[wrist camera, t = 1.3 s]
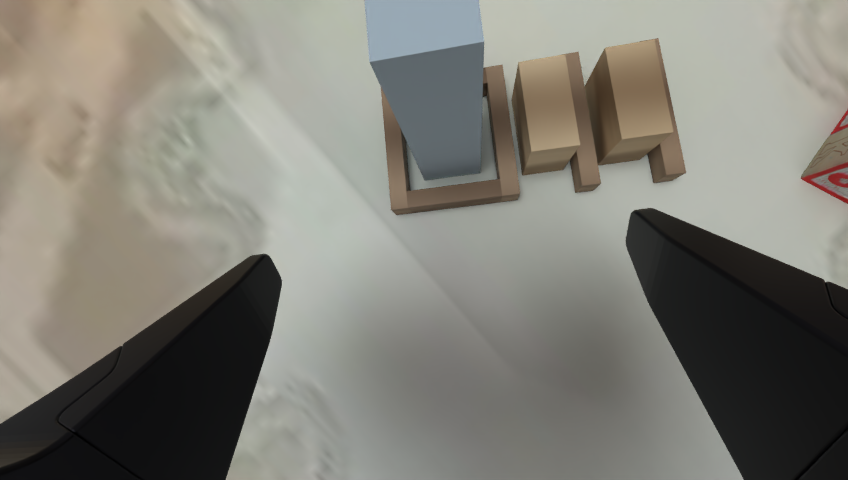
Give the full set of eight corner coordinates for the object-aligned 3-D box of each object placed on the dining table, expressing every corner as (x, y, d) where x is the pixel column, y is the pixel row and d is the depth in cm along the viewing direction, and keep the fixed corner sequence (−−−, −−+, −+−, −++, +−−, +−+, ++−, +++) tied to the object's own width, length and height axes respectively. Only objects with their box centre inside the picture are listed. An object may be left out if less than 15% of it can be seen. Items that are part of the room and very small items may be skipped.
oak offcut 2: (638, 160, 22) (673, 131, 18) (596, 166, 23) (622, 139, 19) (624, 82, 23) (654, 39, 19) (583, 88, 23) (605, 47, 19)
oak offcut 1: (562, 170, 23) (580, 145, 19) (522, 175, 23) (531, 151, 19) (550, 94, 24) (565, 54, 20) (511, 100, 24) (518, 62, 20)
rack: (671, 180, 22) (686, 172, 20) (396, 214, 24) (391, 209, 22) (646, 54, 23) (658, 38, 21) (386, 97, 25) (380, 85, 23)
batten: (480, 172, 23) (484, 41, 11) (424, 180, 24) (369, 62, 12) (472, 112, 24) (468, -75, 12) (418, 121, 24) (360, -52, 12)
